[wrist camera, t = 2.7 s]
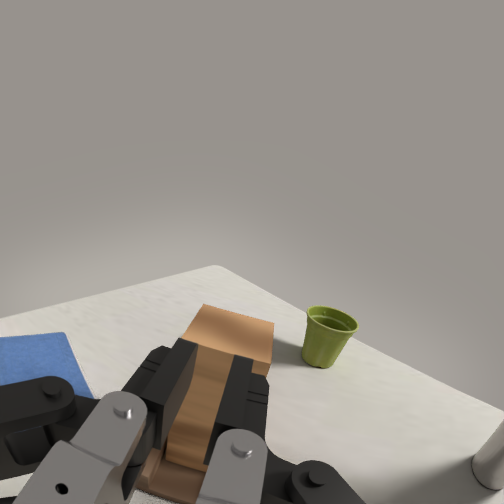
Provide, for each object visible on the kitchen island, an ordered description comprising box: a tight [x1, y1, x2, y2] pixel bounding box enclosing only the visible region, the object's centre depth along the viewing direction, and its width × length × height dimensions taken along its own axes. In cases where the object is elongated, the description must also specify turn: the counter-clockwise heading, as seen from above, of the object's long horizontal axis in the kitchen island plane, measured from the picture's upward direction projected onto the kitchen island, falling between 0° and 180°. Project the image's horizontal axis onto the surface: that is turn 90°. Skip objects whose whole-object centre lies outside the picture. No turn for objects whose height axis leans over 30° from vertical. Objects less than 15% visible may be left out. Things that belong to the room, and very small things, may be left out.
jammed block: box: [166, 304, 274, 472], centre depth 22 cm, size 6×6×15 cm
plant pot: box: [302, 306, 359, 368], centre depth 48 cm, size 9×9×9 cm
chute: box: [136, 435, 206, 504], centre depth 32 cm, size 30×10×4 cm, turn 174°
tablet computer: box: [0, 332, 97, 432], centre depth 25 cm, size 19×13×1 cm, turn 45°
